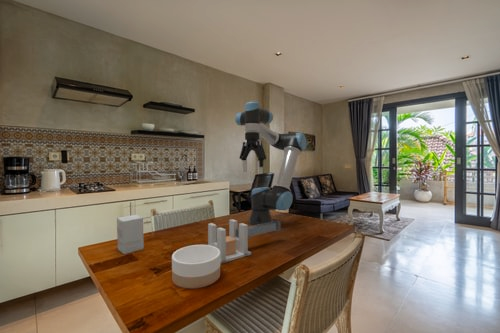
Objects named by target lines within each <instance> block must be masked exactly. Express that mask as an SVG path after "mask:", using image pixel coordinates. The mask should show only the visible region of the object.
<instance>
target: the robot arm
mask: <svg viewBox="0 0 500 333" xmlns="http://www.w3.org/2000/svg"><path fill="white" fill-rule="evenodd" d="M234 119H235V120H234V121H235V123H236V125H238V126H244V132H245V133H244V139H245V141H243V142H242V147H241V151H240V154H239V159H240V160H241V167H242V168H241V172H242V173H247V172H248V159H247V158H248V157H249V154H250V152H252V151H253V152H254V153H255V156H256V157H257V175H261V174H263V173H264V170H263V169H264V168H263V167H264V161H265V160H267V156H266V152H265V149H264V146H263V140H265V141H266V142H267V144H268V145H270V146H271V147H273V148H275V149H277V150H280V151H284V156H283V159H282V163H281V167H280V168H279V169H280V170H279V173H278V176H277V180H276V184H274V185H272V188H271V189H270V187H269V186H263V187H255V188H252V190H251V195H250V196H251V212H250V215H249V219H248V223H249V224H250V225H251V226H253V225H257V224H262V223H267V222H271V221H272V220H273V219H272V214H271V211H270V209H272V210H277V211H287V210H289V209H290V208H291V205H292V204H293V200H294V199H293V196H294V195H293V193H292V190H291V188H290V187H291V183H292V180H293V177H294V176H293V175H294V171H295V168H296V164H297V161H298V157H299V156H300V155H301V154H302V151H305V150H306V148H307V137H306V135H305V134H304V133H302V132H292V133H290V132H289V133H278V132H277V131H273V130H272V129H270V128H269V127H268V126H267V125H269V124H270V123H272V121H273V119H274V114H273V112H272V111H270V110H268V109H265V108H260V103H259V102H257V101H248V102H246V103H245V106H244V111H241V112H238V113H237V114H235V117H234ZM260 137H261V138H262V139H263V140H260Z"/></svg>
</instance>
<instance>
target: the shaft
mask: <svg viewBox="0 0 500 333" xmlns="http://www.w3.org/2000/svg"><path fill="white" fill-rule="evenodd" d="M281 224H282V223H281V221H280V220H277V219H272V221H271V222H267V223H262V224H257V225H250V226H249V225H248V238H249V237H254V236H259V235H262V234H267V233H270V232H275V231H277V232H280V231H281ZM236 237H238V238H239V227H237V229H236Z"/></svg>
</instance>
